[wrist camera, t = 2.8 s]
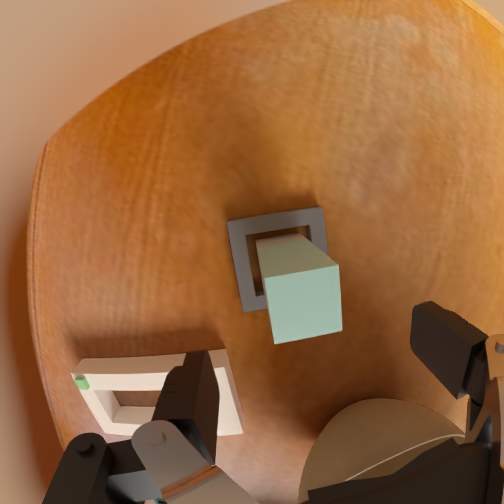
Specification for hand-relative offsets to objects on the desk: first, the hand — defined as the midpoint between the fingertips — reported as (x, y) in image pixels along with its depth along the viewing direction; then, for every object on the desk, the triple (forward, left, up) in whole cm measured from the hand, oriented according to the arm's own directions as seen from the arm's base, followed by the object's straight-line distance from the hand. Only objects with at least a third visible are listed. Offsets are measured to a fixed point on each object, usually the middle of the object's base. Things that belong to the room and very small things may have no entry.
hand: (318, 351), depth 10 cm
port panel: (+14, +12, -14) cm, 23 cm away
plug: (0, 0, -14) cm, 14 cm away
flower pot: (-7, +22, -14) cm, 27 cm away
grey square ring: (0, 0, -14) cm, 14 cm away
